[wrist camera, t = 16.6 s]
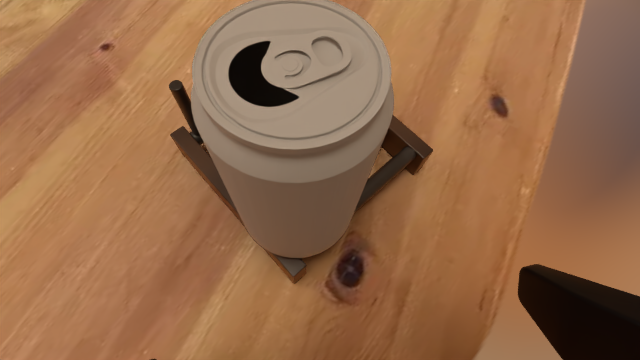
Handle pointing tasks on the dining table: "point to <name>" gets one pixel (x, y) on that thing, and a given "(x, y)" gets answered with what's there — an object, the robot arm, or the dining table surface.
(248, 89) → the beverage can
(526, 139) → the dining table surface
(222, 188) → the dish rack
